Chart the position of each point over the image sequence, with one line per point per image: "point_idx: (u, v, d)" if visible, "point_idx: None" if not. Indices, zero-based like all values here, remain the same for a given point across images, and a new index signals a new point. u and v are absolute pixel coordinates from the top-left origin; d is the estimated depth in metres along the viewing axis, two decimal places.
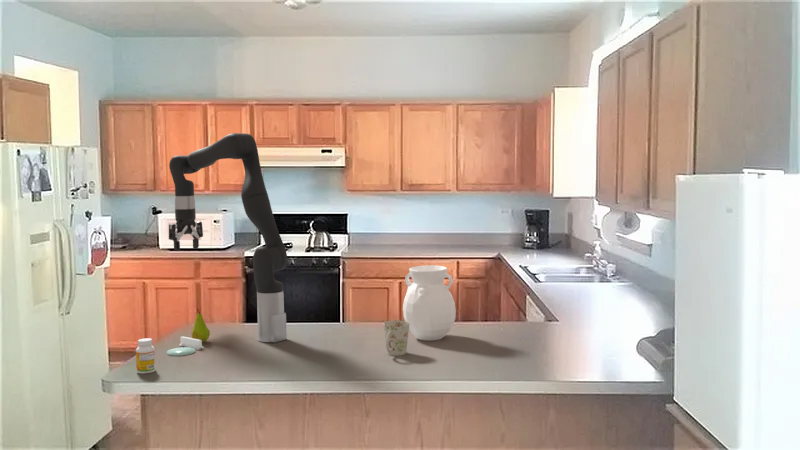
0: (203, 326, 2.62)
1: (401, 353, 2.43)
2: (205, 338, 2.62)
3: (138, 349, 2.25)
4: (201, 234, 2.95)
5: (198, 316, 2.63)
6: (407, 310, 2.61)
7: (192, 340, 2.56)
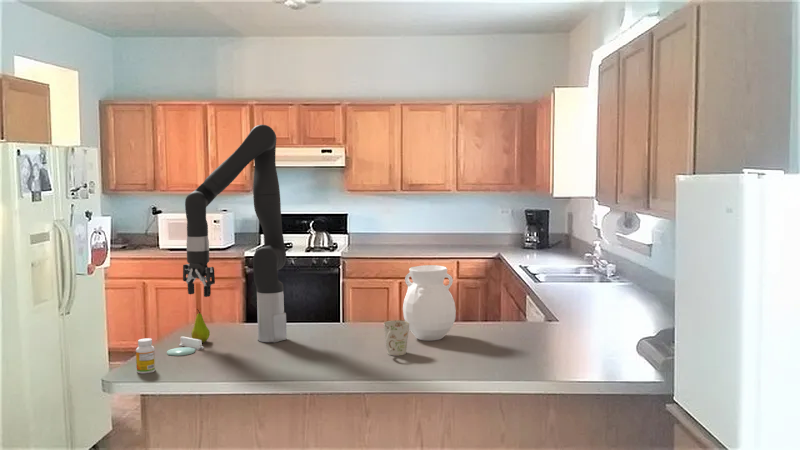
0: (203, 326, 2.62)
1: (401, 353, 2.43)
2: (205, 338, 2.62)
3: (138, 349, 2.25)
4: None
5: (198, 316, 2.63)
6: (407, 310, 2.61)
7: (192, 340, 2.56)
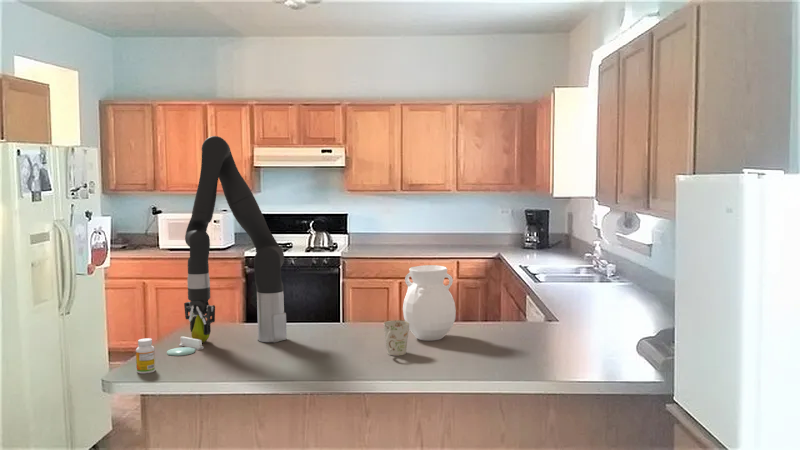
0: (203, 326, 2.62)
1: (401, 353, 2.43)
2: (205, 338, 2.62)
3: (138, 349, 2.25)
4: None
5: (198, 316, 2.63)
6: (407, 310, 2.61)
7: (192, 340, 2.56)
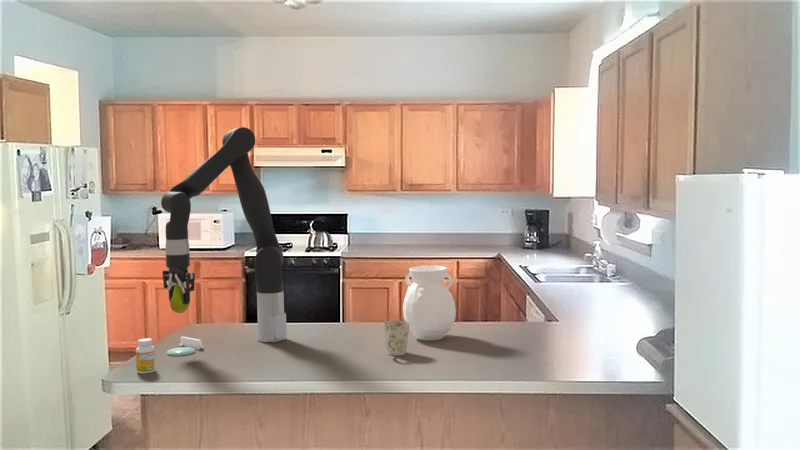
0: (182, 295, 2.47)
1: (401, 353, 2.43)
2: (184, 308, 2.47)
3: (138, 349, 2.25)
4: None
5: (177, 284, 2.48)
6: (407, 310, 2.61)
7: (192, 340, 2.56)
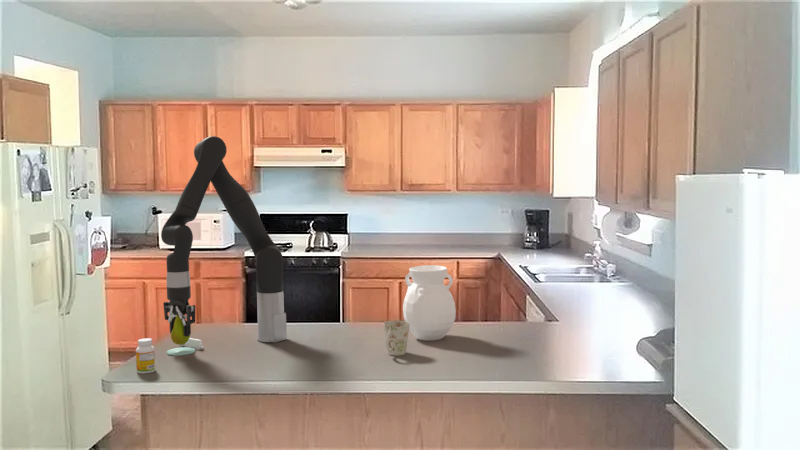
0: None
1: (401, 353, 2.43)
2: (185, 340, 2.48)
3: (138, 349, 2.25)
4: None
5: (178, 316, 2.49)
6: (407, 310, 2.61)
7: (192, 340, 2.56)
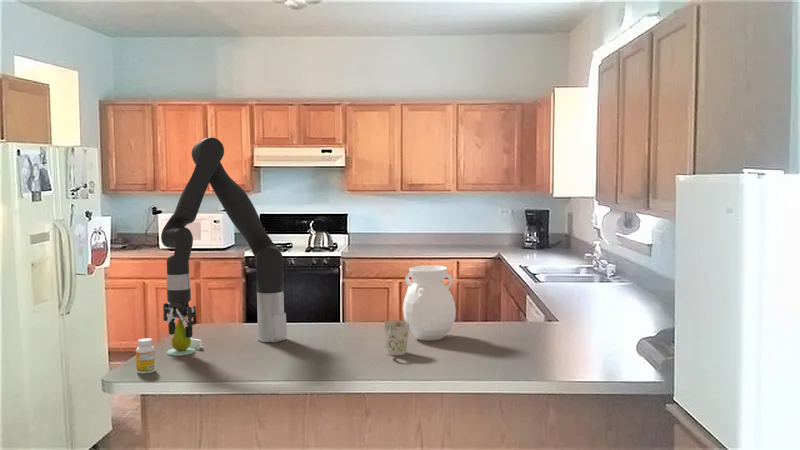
0: (184, 333, 2.48)
1: (401, 353, 2.43)
2: (186, 346, 2.48)
3: (138, 349, 2.25)
4: None
5: (178, 323, 2.49)
6: (407, 310, 2.61)
7: (192, 340, 2.56)
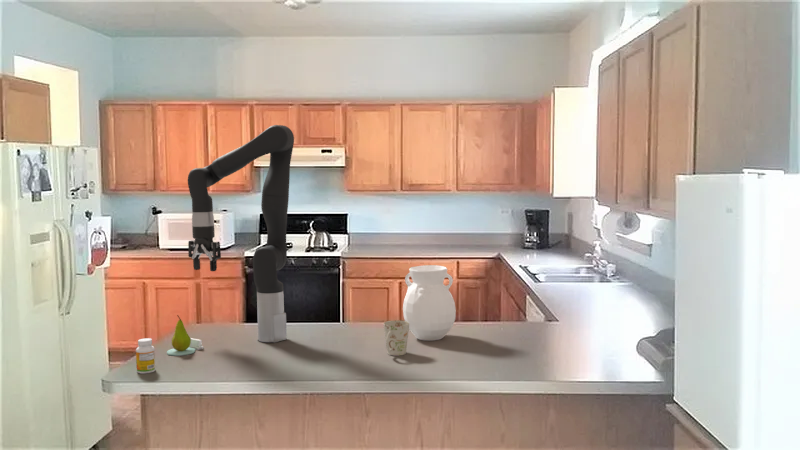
0: (184, 333, 2.48)
1: (401, 353, 2.43)
2: (186, 346, 2.48)
3: (138, 349, 2.25)
4: None
5: (179, 323, 2.49)
6: (407, 310, 2.61)
7: (192, 340, 2.56)
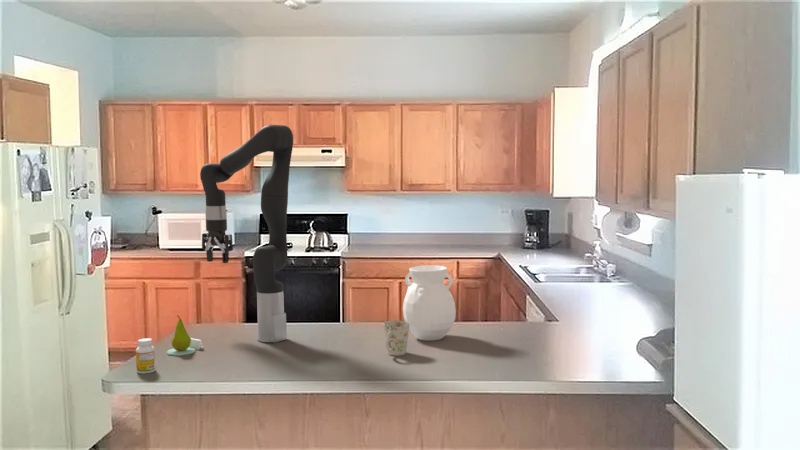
0: (184, 333, 2.48)
1: (401, 353, 2.43)
2: (186, 346, 2.48)
3: (138, 349, 2.25)
4: None
5: (179, 323, 2.49)
6: (407, 310, 2.61)
7: (192, 340, 2.56)
